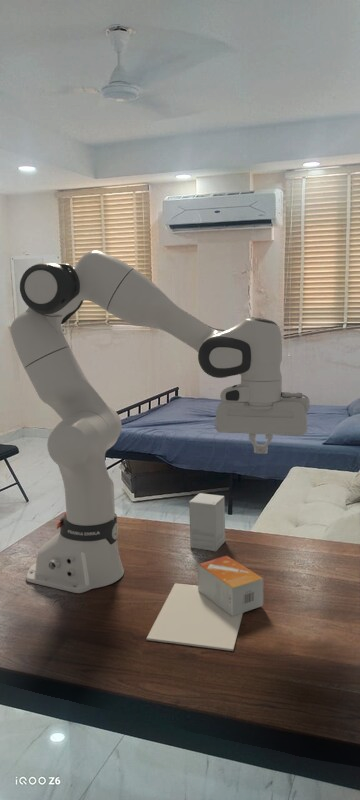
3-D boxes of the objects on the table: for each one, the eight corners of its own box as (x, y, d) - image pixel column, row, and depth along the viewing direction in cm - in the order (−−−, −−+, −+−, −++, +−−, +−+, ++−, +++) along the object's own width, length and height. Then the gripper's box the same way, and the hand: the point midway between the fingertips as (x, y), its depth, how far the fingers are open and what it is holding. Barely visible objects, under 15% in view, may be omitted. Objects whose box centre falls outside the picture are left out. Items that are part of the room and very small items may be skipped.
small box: (232, 587, 116) (196, 563, 127) (232, 617, 117) (197, 590, 128) (264, 577, 120) (227, 554, 131) (264, 606, 122) (227, 581, 133)
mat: (146, 640, 111) (146, 638, 111) (175, 584, 132) (175, 583, 132) (233, 651, 107) (233, 649, 107) (248, 592, 128) (248, 590, 128)
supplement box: (226, 541, 155) (225, 495, 153) (215, 552, 148) (215, 504, 146) (200, 537, 158) (199, 492, 156) (189, 547, 151) (188, 501, 149)
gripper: (309, 390, 129) (308, 451, 132) (218, 388, 134) (218, 447, 137) (309, 395, 123) (307, 458, 126) (213, 393, 128) (213, 454, 131)
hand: (260, 452), depth 131 cm, fingers closed
